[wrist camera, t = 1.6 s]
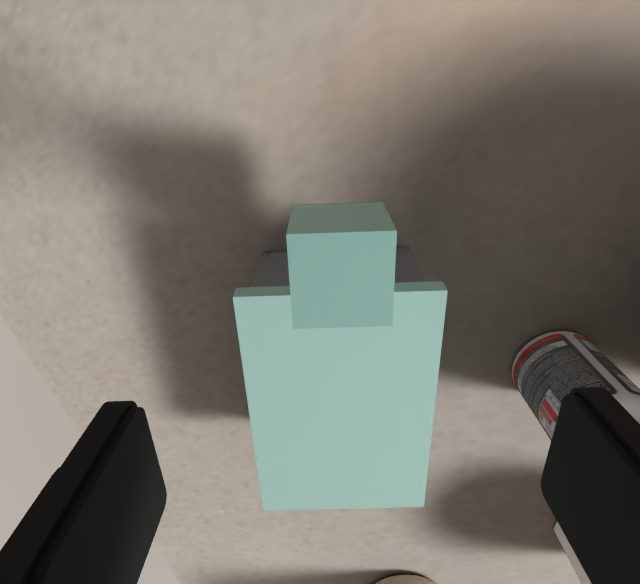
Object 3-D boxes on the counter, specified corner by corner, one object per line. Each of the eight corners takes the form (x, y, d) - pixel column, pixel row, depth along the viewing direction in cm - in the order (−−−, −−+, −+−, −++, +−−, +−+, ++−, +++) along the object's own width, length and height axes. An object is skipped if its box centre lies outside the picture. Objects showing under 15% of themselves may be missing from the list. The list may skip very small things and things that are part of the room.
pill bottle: (503, 395, 32) (575, 520, 23) (515, 329, 29) (601, 441, 20) (582, 392, 31) (686, 516, 23) (601, 325, 29) (726, 436, 20)
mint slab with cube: (225, 206, 19) (203, 237, 16) (450, 199, 19) (481, 227, 15) (264, 496, 28) (256, 558, 24) (420, 493, 27) (435, 555, 24)
